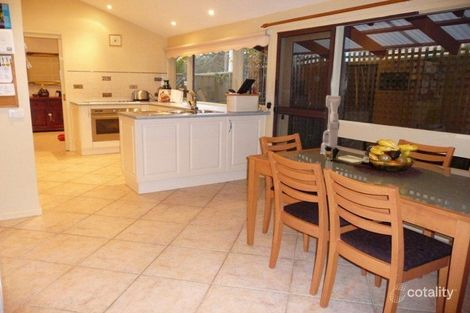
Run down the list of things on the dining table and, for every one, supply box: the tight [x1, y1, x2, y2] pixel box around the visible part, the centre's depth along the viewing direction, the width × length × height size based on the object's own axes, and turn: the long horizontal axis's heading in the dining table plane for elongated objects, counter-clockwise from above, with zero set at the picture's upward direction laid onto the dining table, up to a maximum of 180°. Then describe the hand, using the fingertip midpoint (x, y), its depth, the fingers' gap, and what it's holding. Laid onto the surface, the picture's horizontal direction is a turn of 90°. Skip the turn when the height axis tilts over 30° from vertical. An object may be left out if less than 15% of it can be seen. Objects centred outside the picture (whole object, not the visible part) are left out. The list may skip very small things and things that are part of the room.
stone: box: [360, 145, 376, 164], centre depth 235 cm, size 14×10×15 cm
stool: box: [324, 151, 340, 162], centre depth 245 cm, size 8×5×6 cm, turn 120°
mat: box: [338, 155, 363, 164], centre depth 249 cm, size 18×16×1 cm
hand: (331, 157), depth 245 cm, fingers closed on stool, 5 cm apart
